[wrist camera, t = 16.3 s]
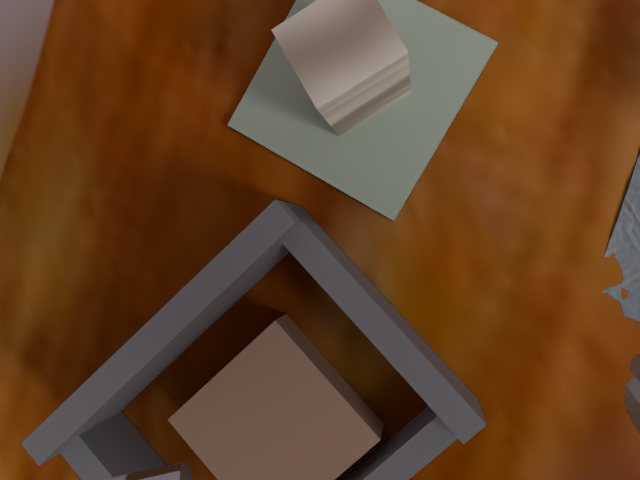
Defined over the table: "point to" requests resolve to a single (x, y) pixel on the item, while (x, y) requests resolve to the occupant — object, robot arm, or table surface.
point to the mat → (382, 128)
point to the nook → (265, 379)
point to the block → (346, 59)
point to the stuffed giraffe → (628, 248)
